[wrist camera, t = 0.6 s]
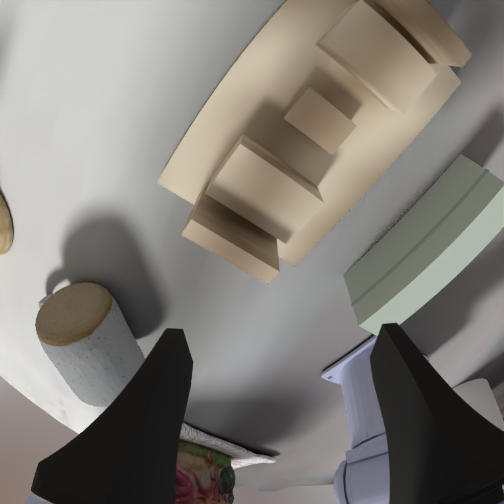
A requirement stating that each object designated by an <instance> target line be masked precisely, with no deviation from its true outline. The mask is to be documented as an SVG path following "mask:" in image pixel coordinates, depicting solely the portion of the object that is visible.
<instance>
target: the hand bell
mask: <svg viewBox="0 0 504 504" xmlns="http://www.w3.org/2000/svg"><path fill="white" fill-rule="evenodd" d="M12 241H13V228H12V221H11V217H10V214H9V211H8V208H7V206H6V204H5V201H4V199H3V197H2V196H1V194H0V255H2V254H5V253H6V252H7V251H8V250H9V249H10V247H11V245H12Z"/></svg>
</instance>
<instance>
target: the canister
mask: <svg viewBox="0 0 504 504" xmlns="http://www.w3.org/2000/svg"><path fill="white" fill-rule="evenodd" d="M452 389H453V390H454V391H455V392H456V393H457V394H458V395H459V396H460V397H461V398H462V399H463V400H464V401H465V402H466V403H467V404H469V405H470V406H471V407H472V408H473V409H474V410H476V411H477V412H478V413H479V414H481V415H482V416H483V417H484V418H485V419H487V420H488V421H489V422H491V423H492V424H494V425H495V426H496V427H498V428H499V429H501V430H502V431H504V422H503V419H502V416H501V413H500V411H499V408H498V405H497V403H496V400H495V398H494V395H493V393H492V390H491V388H490V386H489V383H488V381H487V380H486V379H484V378H480V379H475V380H471V381H468V382H465V383H463V384H461V385H458V386H456V387H454V388H452ZM502 488H503V489H504V485H502Z"/></svg>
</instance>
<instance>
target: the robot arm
mask: <svg viewBox="0 0 504 504" xmlns="http://www.w3.org/2000/svg"><path fill="white" fill-rule="evenodd" d="M428 361H429V359H428V357H427V356H425V355H424V354H422V353H421V352H420V351H419V349H418V348H417V347H416V346H415V344H414V343H413V342H412V341H411V339H410V338H409V337H408V336H407V334H406V333H405V332H404V331H403V329H402V328H401V327H400V326H399V325H398V323H397V322H396V323H385V324H382V326H381V328H380V331H379V334H378V336H376V335H374V336H373V337H372V338H370V339H369V340H368V341H366V342H365V343H364V344H362V345H361V346H360V347H358V348H357V349H355V350H354V351H353V352H351V353H350V354H348V355H347V356H346V357H344V358H343V359H341V360H340V361H338V362H337V363H335V364H334V365H332V366H331V367H329V368H328V369H326V370H325V371H323V372H322V373H321V377H322V378H323V379H326V380H329V381H332V382H334V383H337V384H340V385H342V391H343V397H344V403H345V409H346V415H347V422H348V428H349V435H350V442H351V449H352V450H349V451H346V460H345V461H343V462H341V464H340V465H339V467H338V469H337V471H336V473H335V477H334V496H335V500H336V504H504V489H503V488H502V485H504V431H502V430H501V429H499V428H498V427H496V426H495V425H494V424H492V423H491V422H489V421H488V420H487V419H485V418H484V417H483V416H482V415H481V414H479V413H478V412H477V411H476V410H474V409H473V408H472V407H471V406H470V405H469V404H467V403H466V402H465V401H464V400H463V399H462V398H461V397H460V396H459V395H458V394H457V393H456V392H455V391H454V390H453V389H452V388H451V387H450V386H449V385H448V384H447V383H446V381H445V380H444V379H443V378H442V377H441V376H440V375H439V374H438V372H437V371H436V370H435V369H434V368H433V367H432V365H431V364H430V363H429V362H428ZM192 369H193V360H192V357H191V354H190V351H189V348H188V344H187V341H186V338H185V335H184V331H183V329H171V328H167V329H166V330H165V331H164V332H163V334H162V335H161V337H160V338H159V340H158V342H157V343H156V345H155V346H154V348H153V349H152V351H151V352H150V354H149V355H148V356H147V358H146V359H145V361H144V362H143V364H142V365H141V366H140V368H139V369H138V371H137V372H136V373H135V375H134V376H133V377H132V379H131V380H130V381H129V383H128V384H127V385H126V386H125V388H124V389H123V390H122V391H121V393H120V394H119V395H118V396H117V397H116V399H115V400H114V401H113V402H112V403H111V404H110V405H109V406H108V407H107V409H106V410H105V411H104V412H103V413H102V414H101V415H100V416H99V417H98V418H97V419H96V420H95V421H94V422H92V423H91V424H90V425H89V426H88V427H87V428H86V429H85V430H84V431H83V432H81V433H80V434H79V435H78V436H77V437H75V438H74V439H73V440H71V441H70V442H69V443H68V444H66V445H65V446H64V447H62V448H61V449H59V450H58V451H56V452H55V453H53V454H52V455H50V456H49V457H47V458H45V459H44V460H42V461H40V462H39V464H38V466H37V469H36V473H35V476H34V480H33V483H32V487H31V491H32V492H33V493H34V494H36V495H38V496H39V497H41V498H43V499H45V500H47V501H49V502H51V503H53V504H175V483H176V465H177V454H178V444H179V438H180V433H181V428H182V423H183V419H184V414H185V410H186V406H187V401H188V396H189V392H190V387H191V379H192ZM26 504H50V503H47V502H45V501H43V500H41V499H39V498H37V497H35V496H32V495H30V494H29V495H28V497H27V501H26Z"/></svg>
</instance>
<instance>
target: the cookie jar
mask: <svg viewBox="0 0 504 504" xmlns="http://www.w3.org/2000/svg"><path fill="white" fill-rule="evenodd" d="M274 462H276V459H275V458H274V457H269V456H266V455H261V454H254V453H252V452H251V451H248V450H246V449H244V448H242V447H240V446H237V445H235V444H232V443H229V442H227V441H224V440H221V439H219V438H216V437H214V436H211V435H209V434H206V433H204V432H201V431H199V430H196V429H194V428H192V427H190V426H188V425H186V424H185V423H182V428H181V433H180V438H179V444H178V454H177V465H176V483H175V504H232V503H233V501H234V496H233V492H232V491H233V488H234V485H235V474H234V470H233V469H235V468H238V467H244V466H247V465H250V464H256V463H274Z"/></svg>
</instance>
